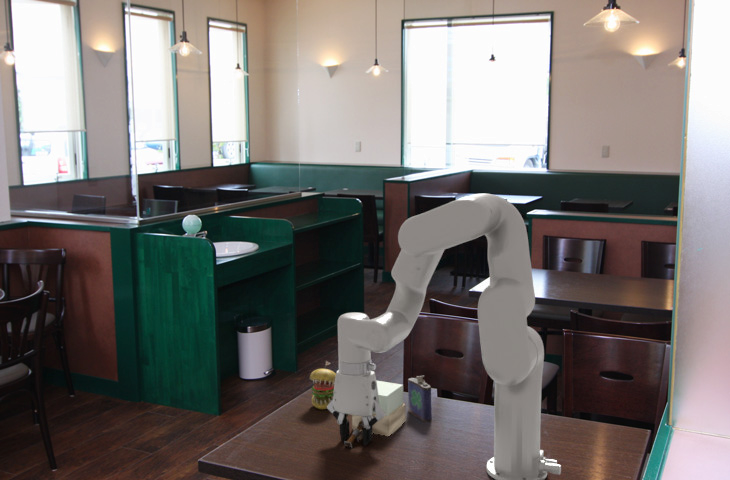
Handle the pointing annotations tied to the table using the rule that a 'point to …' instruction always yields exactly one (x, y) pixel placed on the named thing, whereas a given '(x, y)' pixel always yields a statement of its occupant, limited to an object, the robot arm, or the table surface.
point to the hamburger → (322, 387)
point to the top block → (389, 396)
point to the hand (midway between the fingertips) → (356, 440)
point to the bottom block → (384, 422)
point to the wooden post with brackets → (355, 434)
